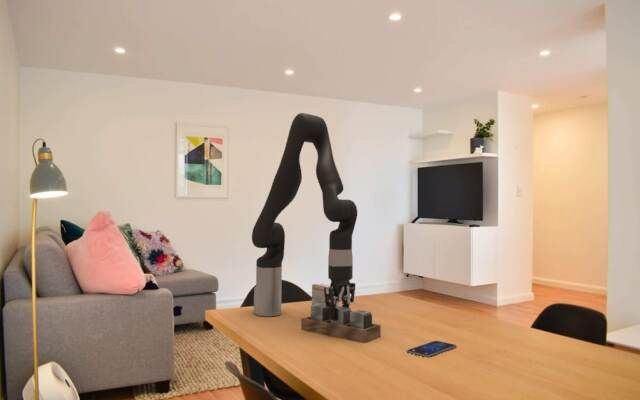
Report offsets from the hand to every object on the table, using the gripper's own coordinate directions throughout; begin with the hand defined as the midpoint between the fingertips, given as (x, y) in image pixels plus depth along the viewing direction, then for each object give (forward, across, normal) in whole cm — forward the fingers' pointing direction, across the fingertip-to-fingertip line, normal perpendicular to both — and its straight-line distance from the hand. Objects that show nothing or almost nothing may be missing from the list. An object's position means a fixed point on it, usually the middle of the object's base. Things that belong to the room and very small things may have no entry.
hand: (340, 318), depth 145 cm
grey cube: (+3, 0, 0) cm, 3 cm away
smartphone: (+5, -2, +30) cm, 30 cm away
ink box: (+5, -12, -16) cm, 20 cm away
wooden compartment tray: (+4, 0, 0) cm, 4 cm away
